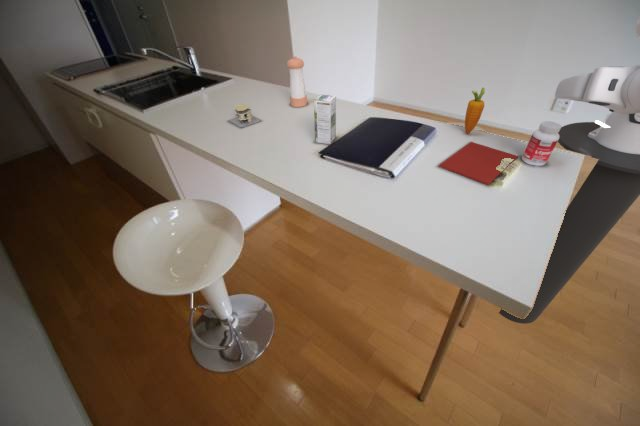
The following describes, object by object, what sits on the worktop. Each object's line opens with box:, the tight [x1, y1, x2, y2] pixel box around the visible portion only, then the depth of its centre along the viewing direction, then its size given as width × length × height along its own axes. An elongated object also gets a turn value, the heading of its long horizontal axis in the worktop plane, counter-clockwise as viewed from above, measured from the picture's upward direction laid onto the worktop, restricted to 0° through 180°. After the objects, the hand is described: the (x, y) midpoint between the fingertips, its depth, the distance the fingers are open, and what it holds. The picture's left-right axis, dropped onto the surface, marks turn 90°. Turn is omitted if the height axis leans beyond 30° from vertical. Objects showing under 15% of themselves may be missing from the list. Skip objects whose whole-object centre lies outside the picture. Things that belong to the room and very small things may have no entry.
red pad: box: [438, 141, 519, 186], centre depth 84 cm, size 20×14×1 cm
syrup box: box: [313, 94, 337, 145], centre depth 95 cm, size 6×6×14 cm
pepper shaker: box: [286, 55, 308, 108], centre depth 123 cm, size 7×7×19 cm
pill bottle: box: [521, 120, 563, 167], centre depth 80 cm, size 6×6×11 cm
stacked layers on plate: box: [229, 103, 261, 129], centre depth 114 cm, size 10×9×6 cm
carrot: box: [464, 87, 486, 135], centre depth 94 cm, size 5×5×15 cm
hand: (583, 98), depth 70 cm, fingers open, 8 cm apart
